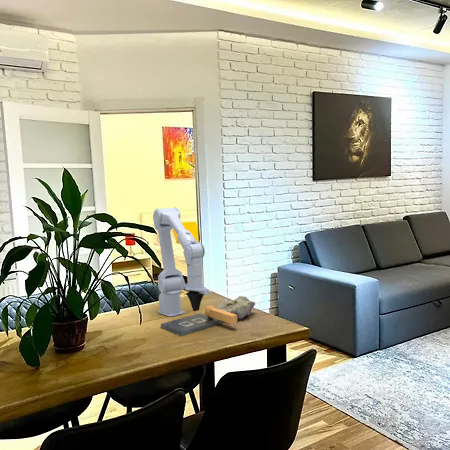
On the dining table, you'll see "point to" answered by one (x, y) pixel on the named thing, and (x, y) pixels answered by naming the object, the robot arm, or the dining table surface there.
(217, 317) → the orange rectangular block
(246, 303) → the geode
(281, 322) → the dining table surface
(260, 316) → the dining table surface
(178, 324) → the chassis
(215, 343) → the dining table surface
